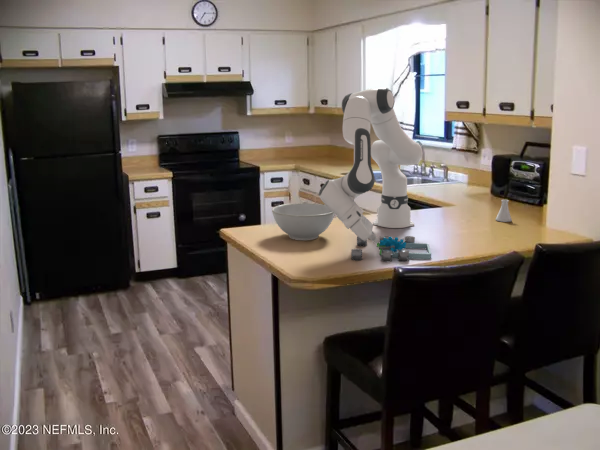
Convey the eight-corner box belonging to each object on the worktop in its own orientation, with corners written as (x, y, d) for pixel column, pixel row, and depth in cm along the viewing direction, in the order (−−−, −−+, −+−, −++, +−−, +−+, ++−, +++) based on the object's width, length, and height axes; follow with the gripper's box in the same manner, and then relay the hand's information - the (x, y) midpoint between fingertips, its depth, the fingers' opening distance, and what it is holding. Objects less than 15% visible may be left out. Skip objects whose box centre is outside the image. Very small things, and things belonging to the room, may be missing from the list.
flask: (505, 218, 298) (506, 198, 295) (514, 221, 291) (516, 201, 289) (492, 219, 295) (493, 199, 293) (501, 222, 289) (503, 201, 287)
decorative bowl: (327, 228, 277) (328, 202, 274) (341, 243, 251) (342, 214, 248) (268, 231, 272) (268, 204, 270) (276, 246, 247) (276, 216, 244)
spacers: (354, 242, 252) (354, 234, 251) (414, 244, 249) (414, 236, 248) (351, 260, 226) (351, 251, 226) (417, 262, 223) (417, 253, 222)
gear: (408, 248, 237) (403, 234, 229) (407, 261, 234) (402, 248, 226) (380, 249, 241) (374, 236, 233) (379, 262, 238) (372, 249, 230)
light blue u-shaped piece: (389, 247, 245) (389, 242, 245) (428, 248, 243) (428, 243, 243) (389, 257, 230) (389, 252, 230) (431, 259, 228) (431, 253, 228)
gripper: (348, 216, 245) (372, 241, 246) (344, 227, 225) (370, 253, 226) (359, 205, 244) (384, 230, 244) (356, 215, 224) (383, 242, 224)
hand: (377, 241), depth 235 cm, fingers closed
